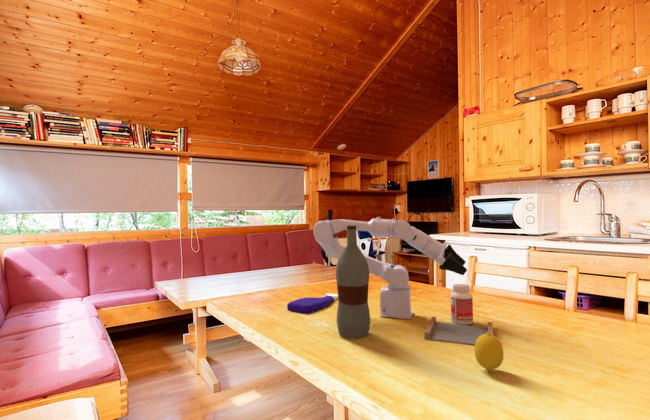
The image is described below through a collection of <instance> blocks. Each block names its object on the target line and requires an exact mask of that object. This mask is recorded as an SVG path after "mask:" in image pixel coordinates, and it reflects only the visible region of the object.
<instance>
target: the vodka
mask: <svg viewBox="0 0 650 420" xmlns="http://www.w3.org/2000/svg"><path fill="white" fill-rule="evenodd" d="M346 227H347V230H346V246H344V247H345V249H344V251H343V253H342V254H341V256H340V258H339V259H337V261H336V269H335V279H336V286H337V287H336V289H337V295H338V299H337V300H338V301H337V303H338V304H337V311H336V312H337V313H336V326H337V332H338V334H339V336H340V337H342V338H344V339H350V340H359V339H364V338H367V337H368V336H369V331H370V326H371V316H370V315H371V314H370V313H371V312H370V308H369V302H368V299H369V284H370V283H369V282H370V281H369V280H370V273H369V267H368V263H367V260H366V258H365V257H364V255H365V254H364V253H363V252H362V250H361V248H360V247H359V245H357V244H358V241H357V237H358V236H357V231H356V227H357V226H356V225H348V226H346ZM363 254H364V255H363Z"/></svg>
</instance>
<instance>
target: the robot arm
mask: <svg viewBox="0 0 650 420" xmlns="http://www.w3.org/2000/svg"><path fill="white" fill-rule="evenodd" d="M348 225H356V226H357V227H356V232H357V231H359V232H367V233H369V234H370V235H371V236H374V237H384V238H392V237H394V236H395V237H396V239H398V240H403V241H405V242H406V243H408V245H409V246H410V247H413V248H414V249H416V250H417V251H418V252H421V254H423V255H426V256H427V257H428V258H431V259H432V261H434V262H436V263H437V264H439V266H438V269H440V270H442V271H450V272H453V273H455V274H458V275H461V276H464V275H465V274H466V272H467V271H468V269H467V268H466V267H465V264H466V262H467V261H465V259H464V258H463V257H462V256H460V255H459V254H458V253H457V252H456V251H455V250H454V248H453V247H452V245H451V244H448V242H447V241H444V243H441V242H440V241H438V240H436V239H435V238H433V237H432V236H430V235H428V234H426V233H425V232H423V231H422V230H420V229H418V228H416V227H415V226H412V225H410V223H409V222H407V220H403V219H397V220H396V218H392V219H389V218H387V219H386V218H382V217H381V216H376V218H371V220H369V221H361V220H353V219H344V218H343V219H340V218H339V219H331V220H330V219H326V220H318V221H317V222H316V223H315V224H314V225H313V227H312V233H313V235H314V240H315V241H316V243H318V244H319V245H320V246H321V248H322V250H323V251H324V252H325V253H326V255H327V256H328V257H331V258H333V259H335V260H338V259H339V258H340V256H341V254H342V253H343V251H344V249H345V247H346V246H344V245H341V243H340V241H339V238H338V233H341V232H342V231H347V227H346V226H348ZM362 254H363V255H364V257H365V258H366V260H367V263H368V267H369V274H371V275H375V276H377V277H379V278H380V279H381V280H382V281H385V282H387V283H388V284H387V286H382V287H381V289H380V294H379V296H380V297H379V299H380V300H379V304H380V305H379V306H380V310H379V311H380V314H379V317H382V318H394V319H404V320H410V319H411V318H412V316H413V315H414V314H415V311H414V310H412V309H411V308H412V303H411V302H412V301H411V297H412V295H411V285H409V281H410V276H409V271H408V269H407V267H405V266H404V265H402V264H392V263H389V262H383V261H381V260H379V259H376V258H373V257H371V256H370V255H368V254H367V255H366V254H364V253H362Z"/></svg>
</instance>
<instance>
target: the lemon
mask: <svg viewBox="0 0 650 420" xmlns="http://www.w3.org/2000/svg"><path fill="white" fill-rule="evenodd" d="M473 349H474V350H473V351H474V357H475V359H476V362H477V363H478V364H479V366H481V367H483V368H484V369H485V370H487V371H488V372H492V371H493V370H496V369H497V368H500V366H501V365H502V364H503V360H504V349H503V345H502V343H501V341H500V340H499V338H498V337H496V336H495V335H494V334H493V335H491V334H490V333H486V334H483V335H481V336H479V337H478V338H477V340H476V343H475V345H474V348H473Z"/></svg>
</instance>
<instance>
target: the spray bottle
mask: <svg viewBox="0 0 650 420" xmlns="http://www.w3.org/2000/svg"><path fill="white" fill-rule="evenodd" d="M335 300H338V294H336V293H325V295H322V296H320V297H314V296H313V297H302V298H298V299H295V300H292V301H290V302H288V303H287V304H286V308H287V309H286V310H287V311H289V312H295V313H300V314H307V315H308V314H311V313H313V312H317V311H320V310H322V309H325V308H327V307H328V306H330V305H331V304H332V303H333V301H335Z"/></svg>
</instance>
